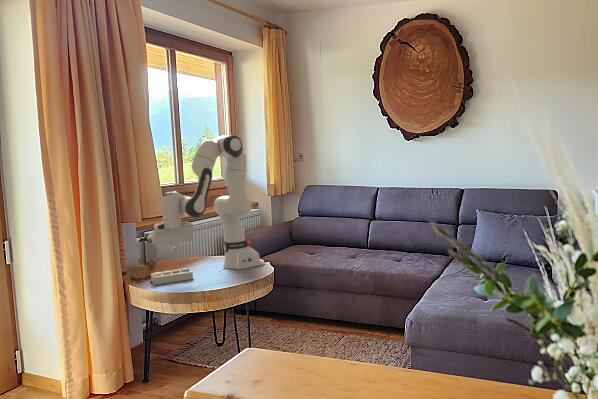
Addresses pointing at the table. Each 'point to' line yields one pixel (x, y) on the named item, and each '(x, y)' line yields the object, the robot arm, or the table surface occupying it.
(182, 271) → the key slate
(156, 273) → the key cream
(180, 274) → the keypad
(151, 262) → the lion figurine
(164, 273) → the key sage
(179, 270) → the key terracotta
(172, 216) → the robot arm
